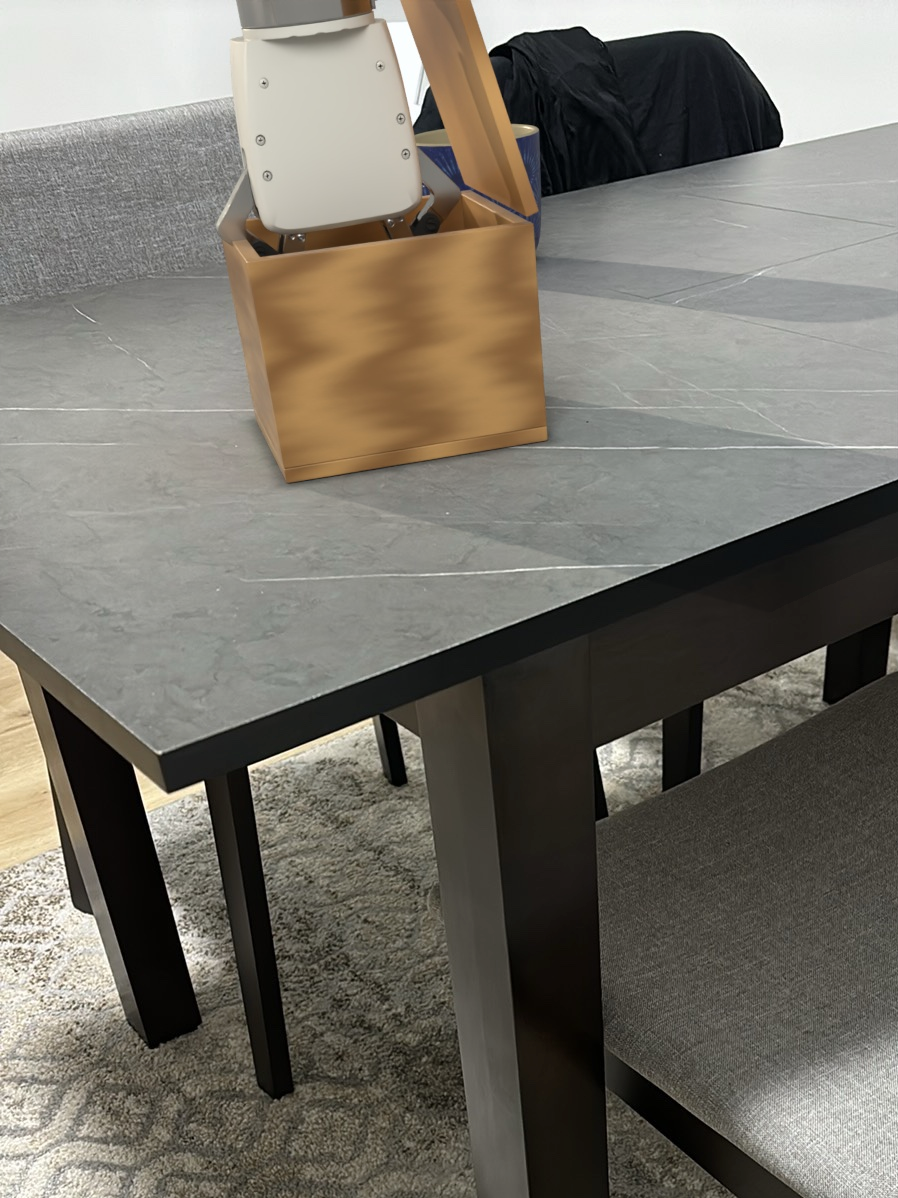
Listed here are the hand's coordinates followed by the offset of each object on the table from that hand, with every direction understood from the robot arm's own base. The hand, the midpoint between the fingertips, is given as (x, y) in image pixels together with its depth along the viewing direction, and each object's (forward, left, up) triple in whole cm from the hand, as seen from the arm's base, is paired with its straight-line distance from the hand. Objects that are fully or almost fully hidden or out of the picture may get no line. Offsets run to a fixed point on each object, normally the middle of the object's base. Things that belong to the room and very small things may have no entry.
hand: (360, 338), depth 89 cm
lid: (+7, 0, +15) cm, 17 cm away
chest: (+1, 0, -6) cm, 6 cm away
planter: (+20, +49, -6) cm, 53 cm away
